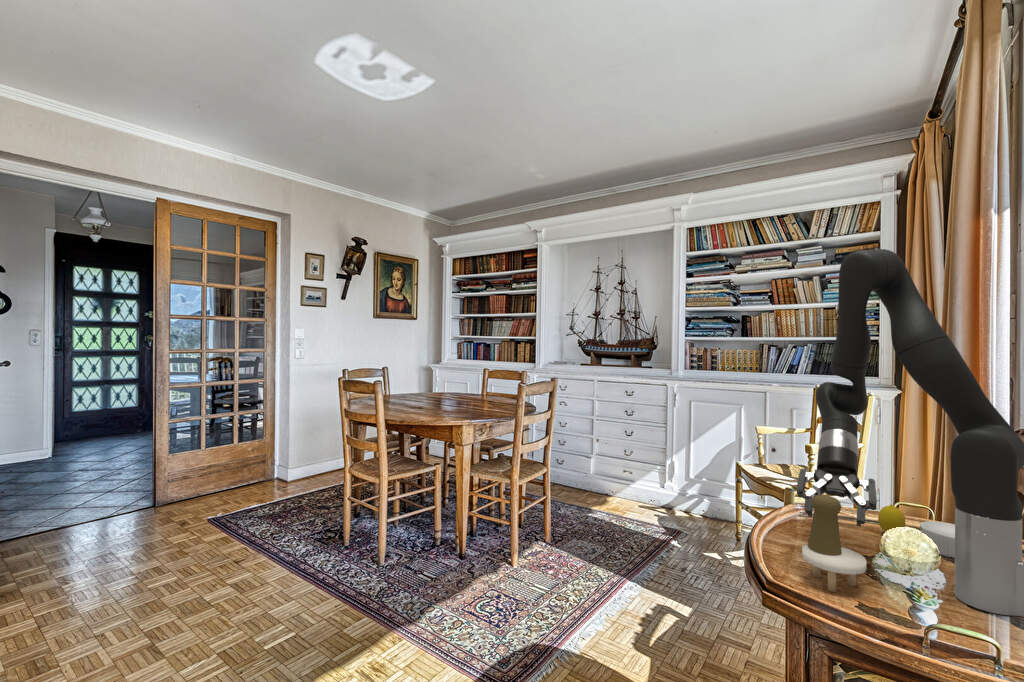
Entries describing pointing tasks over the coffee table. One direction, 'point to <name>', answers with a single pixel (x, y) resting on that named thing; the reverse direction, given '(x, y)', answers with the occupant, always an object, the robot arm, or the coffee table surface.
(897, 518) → the lemon
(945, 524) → the ramekin
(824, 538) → the cork
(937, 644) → the coffee table surface
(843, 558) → the stool
